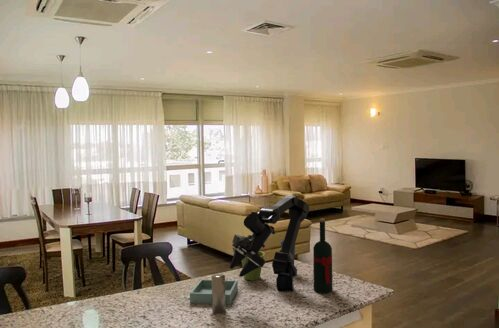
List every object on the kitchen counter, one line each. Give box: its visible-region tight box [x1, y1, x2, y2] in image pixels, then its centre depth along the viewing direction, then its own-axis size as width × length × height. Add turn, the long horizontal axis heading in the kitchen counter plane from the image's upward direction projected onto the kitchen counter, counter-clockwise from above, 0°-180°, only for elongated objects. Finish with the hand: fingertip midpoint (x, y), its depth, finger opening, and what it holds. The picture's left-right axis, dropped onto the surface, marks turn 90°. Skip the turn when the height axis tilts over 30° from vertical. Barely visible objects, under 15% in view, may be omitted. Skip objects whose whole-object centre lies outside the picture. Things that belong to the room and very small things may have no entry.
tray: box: [189, 279, 239, 305], centre depth 164 cm, size 16×16×4 cm
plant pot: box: [240, 250, 266, 281], centre depth 185 cm, size 12×12×11 cm
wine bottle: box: [312, 218, 333, 295], centre depth 166 cm, size 8×10×30 cm
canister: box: [211, 273, 227, 314], centre depth 149 cm, size 5×5×13 cm
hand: (235, 272), depth 152 cm, fingers open, 9 cm apart
